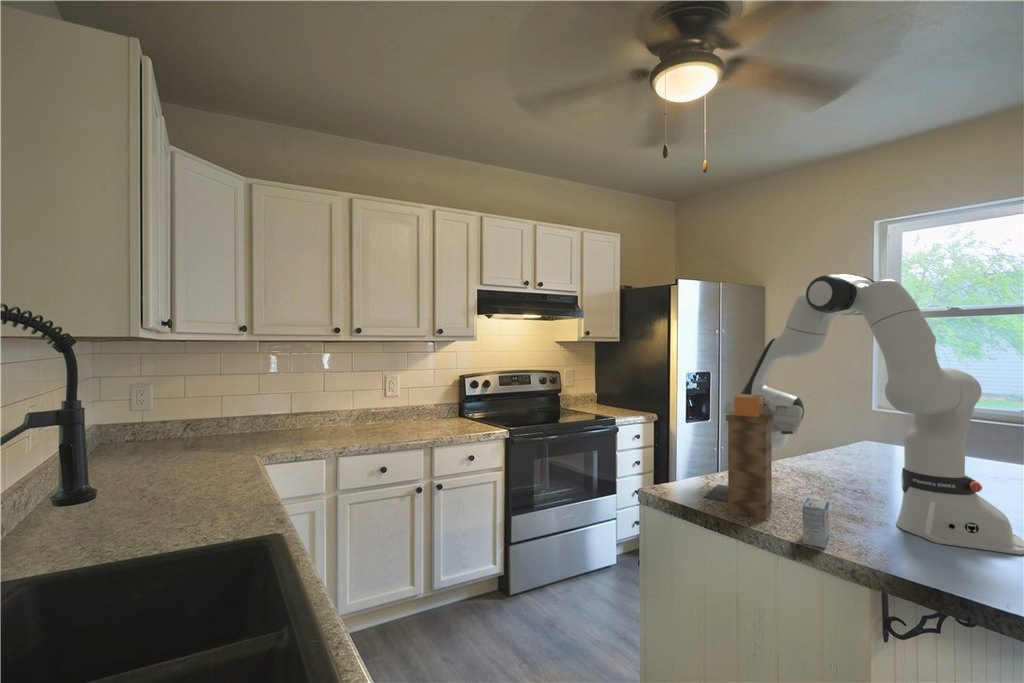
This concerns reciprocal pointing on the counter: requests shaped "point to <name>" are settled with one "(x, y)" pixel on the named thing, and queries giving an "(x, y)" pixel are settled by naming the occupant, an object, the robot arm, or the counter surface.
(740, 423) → the stand
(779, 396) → the robot arm
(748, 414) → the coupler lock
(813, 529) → the medicine box
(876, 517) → the counter surface
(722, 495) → the rubber mat
